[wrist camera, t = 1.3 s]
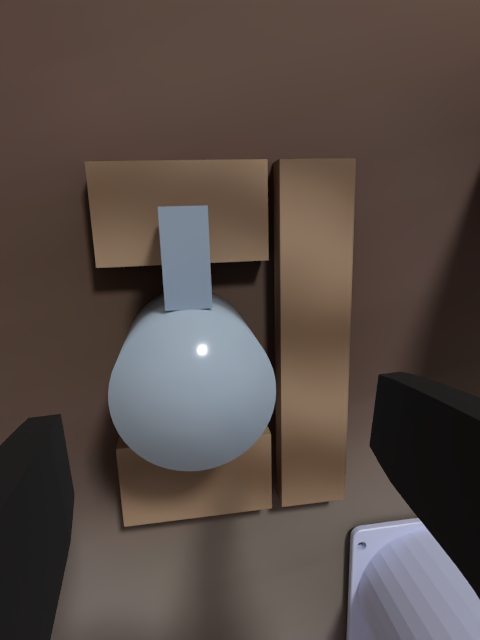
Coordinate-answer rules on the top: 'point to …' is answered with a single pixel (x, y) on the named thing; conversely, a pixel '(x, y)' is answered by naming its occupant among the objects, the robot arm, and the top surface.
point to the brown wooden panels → (290, 317)
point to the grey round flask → (190, 362)
